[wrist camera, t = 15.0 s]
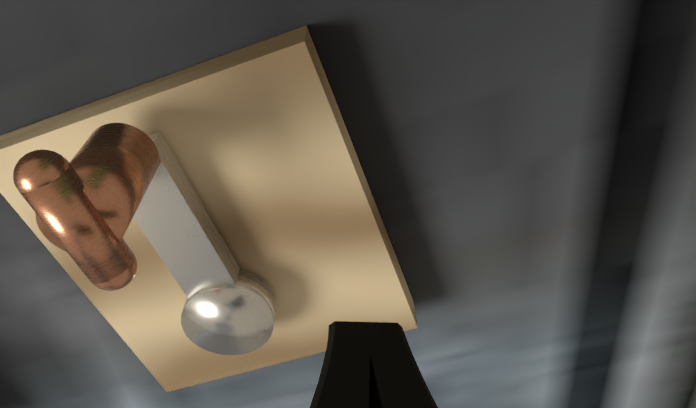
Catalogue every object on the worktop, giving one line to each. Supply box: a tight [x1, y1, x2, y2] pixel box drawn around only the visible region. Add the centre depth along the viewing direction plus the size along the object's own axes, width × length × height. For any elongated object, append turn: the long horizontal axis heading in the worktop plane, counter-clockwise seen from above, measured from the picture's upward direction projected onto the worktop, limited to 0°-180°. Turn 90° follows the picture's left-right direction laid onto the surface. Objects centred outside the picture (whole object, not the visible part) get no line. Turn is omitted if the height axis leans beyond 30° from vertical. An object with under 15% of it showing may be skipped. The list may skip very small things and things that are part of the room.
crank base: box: [0, 25, 418, 392], centre depth 20 cm, size 12×11×2 cm
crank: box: [13, 123, 276, 355], centre depth 17 cm, size 11×3×5 cm, turn 18°
